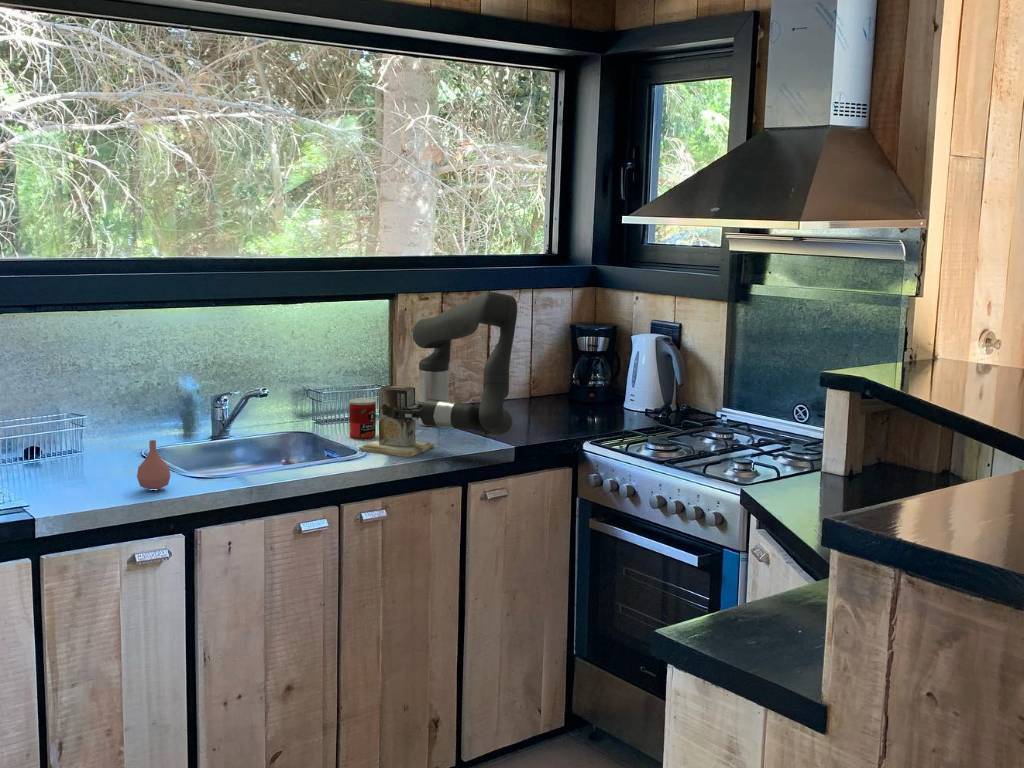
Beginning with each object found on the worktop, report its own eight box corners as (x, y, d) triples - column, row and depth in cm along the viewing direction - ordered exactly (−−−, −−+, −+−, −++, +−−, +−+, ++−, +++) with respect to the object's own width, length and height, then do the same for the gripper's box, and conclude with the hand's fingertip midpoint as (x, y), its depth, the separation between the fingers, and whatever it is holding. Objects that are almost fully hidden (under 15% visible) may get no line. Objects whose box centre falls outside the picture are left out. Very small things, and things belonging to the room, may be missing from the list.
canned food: (363, 441, 325) (362, 403, 323) (343, 437, 329) (343, 400, 328) (381, 436, 331) (381, 400, 329) (362, 433, 335) (362, 397, 334)
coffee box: (416, 442, 316) (416, 387, 314) (407, 447, 310) (407, 390, 308) (387, 440, 319) (386, 384, 317) (377, 444, 313) (377, 388, 311)
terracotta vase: (159, 484, 273) (158, 436, 271) (177, 489, 268) (175, 440, 266) (131, 490, 267) (129, 440, 265) (148, 495, 262) (146, 445, 260)
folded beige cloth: (385, 441, 325) (385, 436, 324) (433, 447, 318) (433, 442, 318) (359, 450, 312) (359, 445, 312) (409, 457, 305) (409, 451, 305)
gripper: (453, 396, 313) (403, 391, 320) (429, 404, 300) (377, 399, 307) (453, 422, 314) (403, 417, 321) (429, 431, 301) (377, 425, 308)
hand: (390, 408), depth 314 cm, fingers open, 8 cm apart
